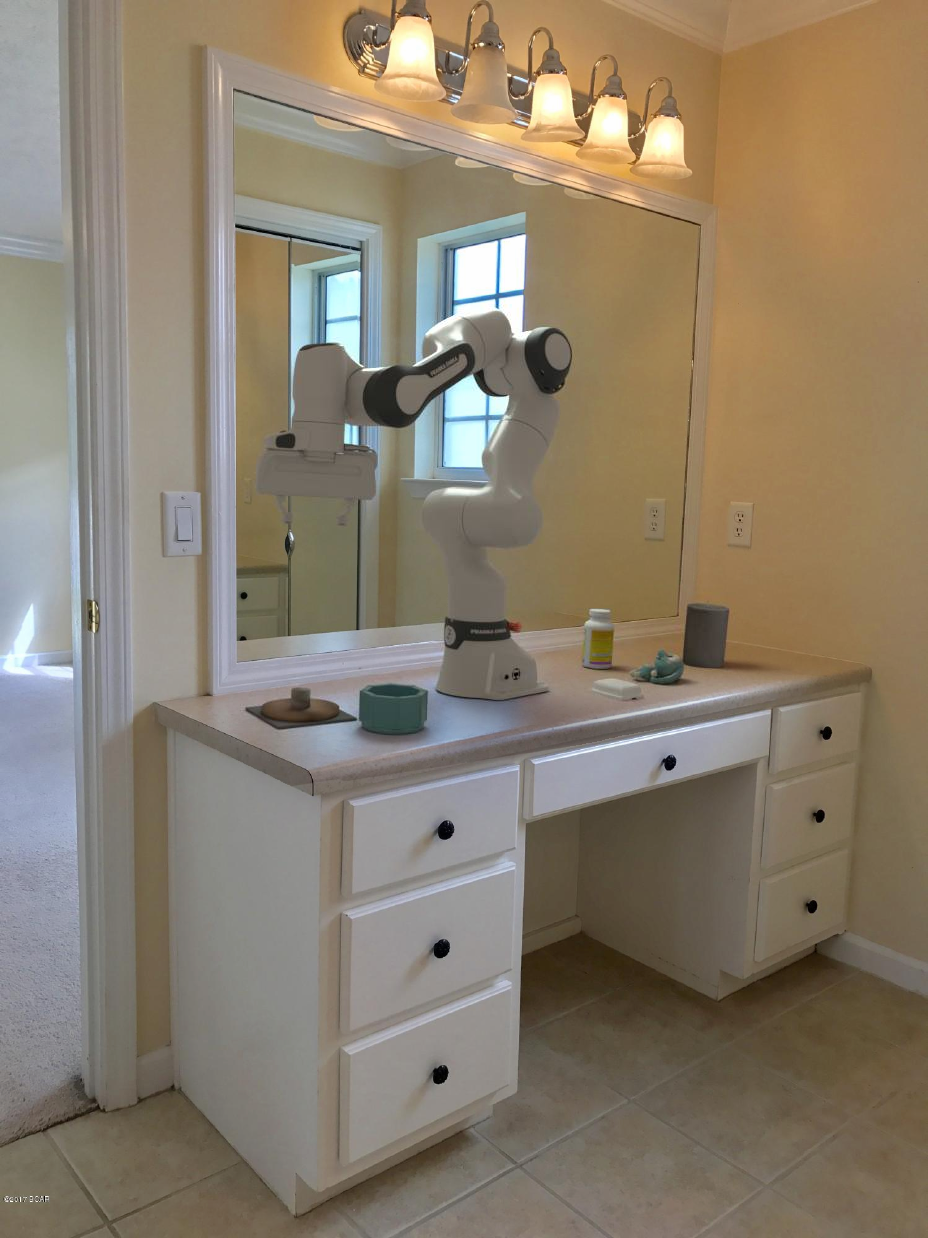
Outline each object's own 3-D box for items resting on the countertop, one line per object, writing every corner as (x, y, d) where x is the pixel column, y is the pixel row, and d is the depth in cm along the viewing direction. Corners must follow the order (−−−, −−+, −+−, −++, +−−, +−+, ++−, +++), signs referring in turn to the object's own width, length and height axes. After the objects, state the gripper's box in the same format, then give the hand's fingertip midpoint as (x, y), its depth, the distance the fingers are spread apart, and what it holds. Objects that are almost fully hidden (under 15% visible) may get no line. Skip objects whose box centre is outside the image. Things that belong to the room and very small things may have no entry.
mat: (320, 702, 175) (320, 699, 175) (356, 720, 163) (356, 717, 163) (245, 709, 167) (245, 707, 167) (278, 729, 155) (278, 726, 155)
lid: (318, 700, 174) (319, 678, 173) (352, 717, 163) (353, 694, 163) (249, 707, 167) (249, 684, 166) (280, 725, 156) (280, 701, 155)
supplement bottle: (617, 668, 218) (621, 611, 216) (595, 670, 215) (599, 613, 213) (597, 663, 224) (601, 607, 222) (575, 665, 220) (579, 608, 218)
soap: (645, 699, 190) (646, 684, 190) (621, 703, 186) (622, 688, 186) (611, 690, 197) (612, 676, 197) (588, 693, 193) (588, 679, 193)
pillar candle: (673, 662, 229) (679, 599, 226) (697, 658, 235) (703, 596, 233) (708, 670, 222) (714, 605, 219) (732, 665, 228) (738, 602, 226)
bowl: (404, 715, 167) (405, 681, 167) (436, 730, 159) (438, 694, 158) (349, 722, 162) (350, 686, 161) (380, 737, 153) (381, 700, 152)
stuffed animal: (618, 651, 210) (667, 640, 213) (622, 683, 211) (670, 671, 215) (642, 660, 200) (694, 649, 203) (646, 694, 201) (697, 682, 205)
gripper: (373, 446, 169) (369, 526, 171) (253, 437, 162) (251, 521, 164) (382, 445, 163) (378, 528, 165) (259, 436, 156) (256, 523, 158)
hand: (314, 524), depth 164 cm, fingers open, 8 cm apart
